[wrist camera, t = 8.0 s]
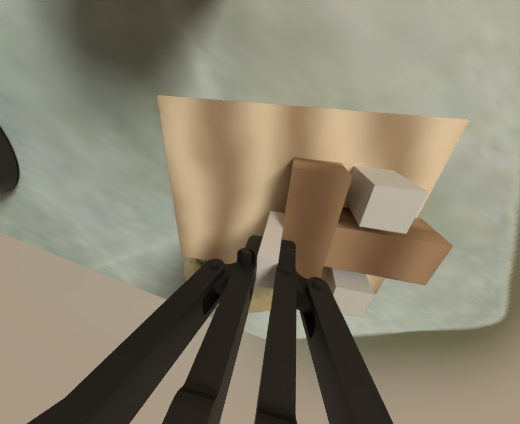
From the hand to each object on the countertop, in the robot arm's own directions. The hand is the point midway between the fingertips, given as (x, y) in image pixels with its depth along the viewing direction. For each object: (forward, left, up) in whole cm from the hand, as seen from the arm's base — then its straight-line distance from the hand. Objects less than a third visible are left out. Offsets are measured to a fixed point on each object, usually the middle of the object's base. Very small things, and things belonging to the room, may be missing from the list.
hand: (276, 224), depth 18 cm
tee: (+7, 0, -1) cm, 7 cm away
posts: (+7, 0, -1) cm, 7 cm away
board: (0, +1, -2) cm, 3 cm away
